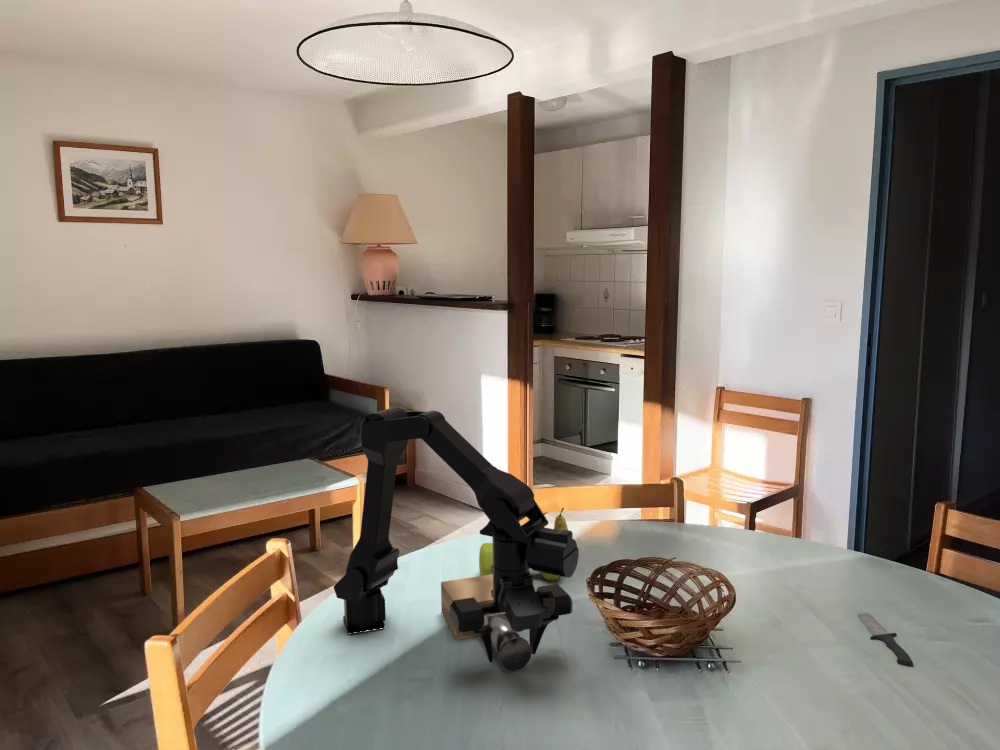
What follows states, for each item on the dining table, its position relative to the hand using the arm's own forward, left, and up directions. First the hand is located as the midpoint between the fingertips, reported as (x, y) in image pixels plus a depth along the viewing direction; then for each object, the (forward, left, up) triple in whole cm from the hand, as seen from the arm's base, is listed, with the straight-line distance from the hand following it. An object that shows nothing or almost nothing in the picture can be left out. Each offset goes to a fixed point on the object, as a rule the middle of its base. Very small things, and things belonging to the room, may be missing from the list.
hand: (511, 657), depth 121 cm
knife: (+63, -11, -2) cm, 64 cm away
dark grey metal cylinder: (0, +5, -2) cm, 6 cm away
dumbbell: (+13, +31, -2) cm, 34 cm away
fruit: (+25, +38, -2) cm, 46 cm away
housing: (0, +16, -2) cm, 16 cm away
